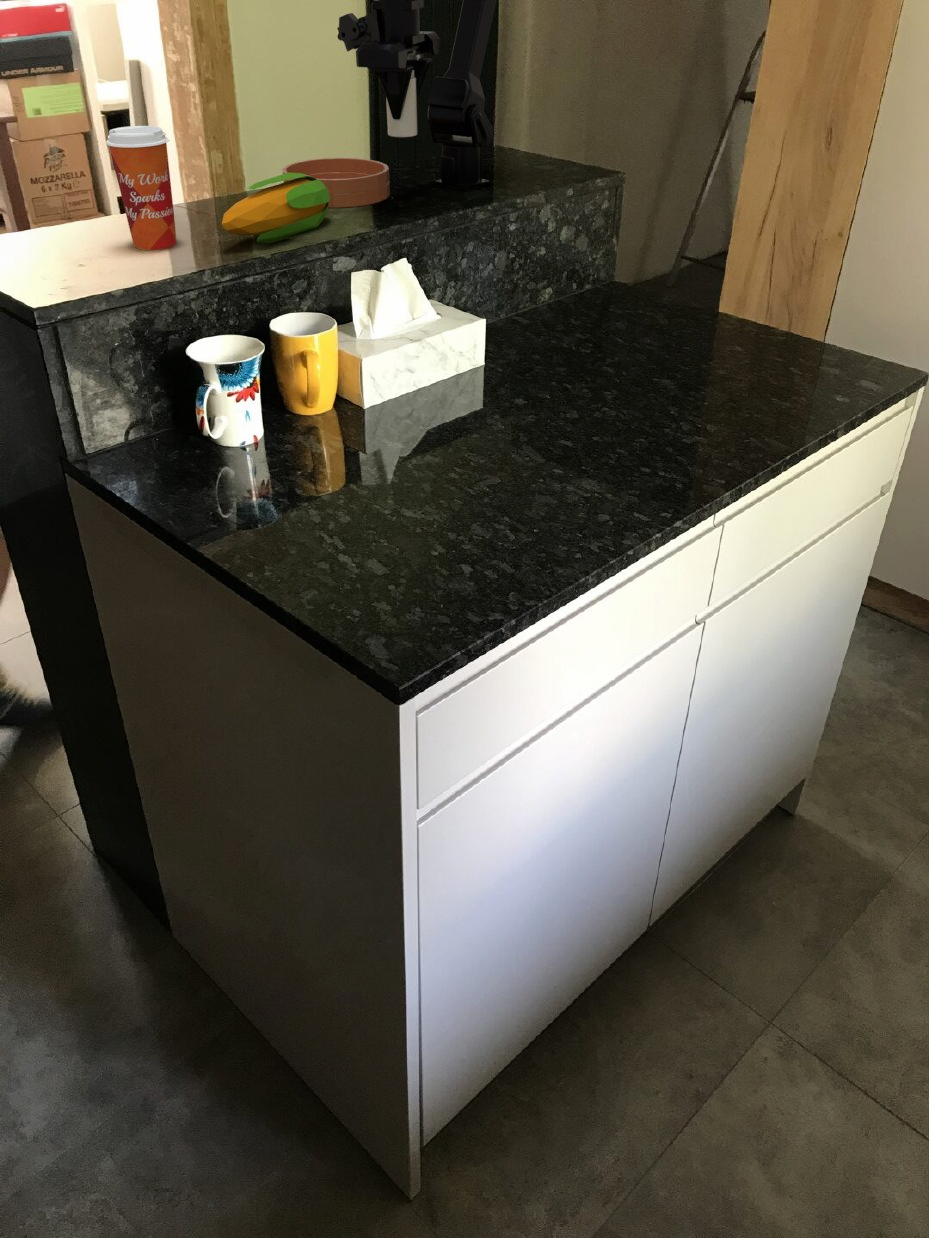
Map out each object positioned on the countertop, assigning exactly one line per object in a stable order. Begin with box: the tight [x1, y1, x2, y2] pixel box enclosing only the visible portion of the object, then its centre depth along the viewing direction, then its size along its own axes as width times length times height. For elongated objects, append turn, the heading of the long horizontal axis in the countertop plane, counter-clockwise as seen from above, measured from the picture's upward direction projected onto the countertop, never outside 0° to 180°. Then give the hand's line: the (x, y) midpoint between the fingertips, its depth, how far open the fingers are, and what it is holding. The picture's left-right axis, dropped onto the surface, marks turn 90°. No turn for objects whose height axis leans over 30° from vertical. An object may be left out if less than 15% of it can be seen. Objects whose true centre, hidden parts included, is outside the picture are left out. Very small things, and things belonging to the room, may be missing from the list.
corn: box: [221, 173, 330, 244], centre depth 135 cm, size 7×8×20 cm
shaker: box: [385, 69, 418, 138], centre depth 145 cm, size 4×4×8 cm
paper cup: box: [105, 125, 177, 251], centre depth 130 cm, size 8×8×14 cm
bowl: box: [281, 157, 391, 209], centre depth 154 cm, size 16×16×4 cm
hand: (402, 116), depth 146 cm, fingers closed on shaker, 4 cm apart
